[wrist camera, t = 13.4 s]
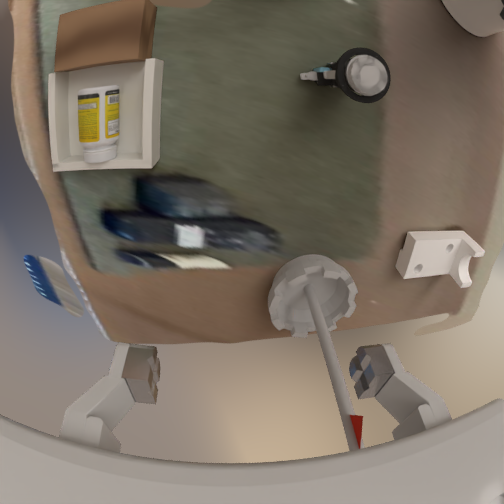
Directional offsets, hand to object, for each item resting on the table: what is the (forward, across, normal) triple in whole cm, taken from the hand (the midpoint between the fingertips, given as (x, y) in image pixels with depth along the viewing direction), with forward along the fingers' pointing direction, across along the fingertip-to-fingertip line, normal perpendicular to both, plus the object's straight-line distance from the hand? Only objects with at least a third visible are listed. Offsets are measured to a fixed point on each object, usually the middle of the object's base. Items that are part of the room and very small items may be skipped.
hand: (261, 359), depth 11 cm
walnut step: (+27, +16, -16) cm, 35 cm away
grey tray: (+27, +16, -6) cm, 32 cm away
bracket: (+28, -33, +10) cm, 44 cm away
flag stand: (+27, -12, +18) cm, 35 cm away
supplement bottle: (+24, +16, -10) cm, 30 cm away
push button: (+27, -9, -12) cm, 31 cm away
